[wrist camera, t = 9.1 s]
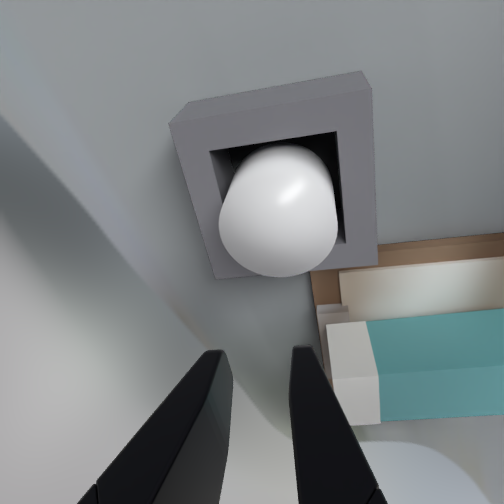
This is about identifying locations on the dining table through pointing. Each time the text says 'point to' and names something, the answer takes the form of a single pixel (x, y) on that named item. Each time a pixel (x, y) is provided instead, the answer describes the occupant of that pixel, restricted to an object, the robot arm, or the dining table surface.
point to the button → (279, 211)
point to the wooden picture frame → (412, 283)
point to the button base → (277, 128)
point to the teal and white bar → (419, 367)
